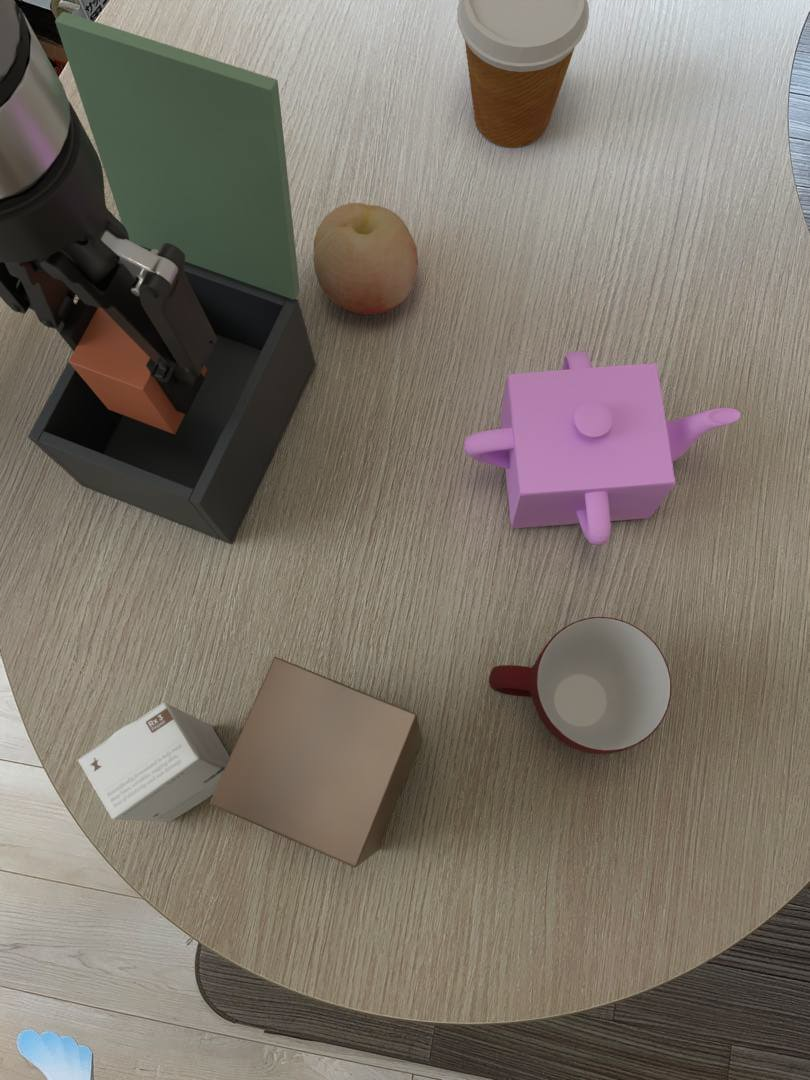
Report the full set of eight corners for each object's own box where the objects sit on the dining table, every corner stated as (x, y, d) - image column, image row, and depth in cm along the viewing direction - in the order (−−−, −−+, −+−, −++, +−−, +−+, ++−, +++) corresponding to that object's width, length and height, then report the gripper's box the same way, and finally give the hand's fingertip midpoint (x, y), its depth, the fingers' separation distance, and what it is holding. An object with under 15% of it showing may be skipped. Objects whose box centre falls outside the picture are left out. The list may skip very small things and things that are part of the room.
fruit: (423, 245, 76) (422, 182, 68) (414, 336, 74) (411, 281, 66) (325, 239, 76) (312, 175, 68) (312, 328, 74) (298, 273, 66)
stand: (270, 804, 64) (208, 804, 47) (317, 694, 66) (274, 655, 49) (378, 850, 63) (356, 868, 46) (422, 738, 65) (417, 714, 48)
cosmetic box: (169, 824, 64) (109, 829, 53) (136, 769, 65) (70, 761, 54) (245, 771, 65) (203, 764, 53) (211, 717, 66) (162, 699, 54)
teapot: (690, 382, 72) (730, 316, 62) (719, 559, 68) (766, 518, 58) (454, 400, 72) (456, 338, 62) (470, 578, 68) (475, 540, 58)
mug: (485, 758, 65) (493, 750, 55) (485, 641, 67) (493, 614, 57) (640, 761, 64) (676, 754, 55) (635, 644, 67) (668, 616, 57)
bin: (232, 544, 70) (199, 504, 60) (81, 485, 71) (26, 436, 62) (316, 364, 73) (298, 299, 64) (171, 312, 75) (132, 241, 65)
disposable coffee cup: (439, 86, 80) (440, -35, 68) (546, 56, 80) (564, -70, 69) (475, 178, 77) (482, 68, 66) (585, 146, 78) (611, 31, 66)
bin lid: (271, 90, 48) (278, 79, 49) (54, 20, 50) (62, 10, 50) (294, 300, 63) (300, 291, 63) (127, 241, 65) (133, 232, 65)
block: (108, 409, 63) (67, 361, 56) (141, 345, 64) (105, 291, 57) (175, 435, 62) (142, 389, 55) (207, 369, 63) (179, 318, 56)
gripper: (-246, 144, 39) (3, 383, 62) (138, 281, 37) (252, 478, 59) (-153, 7, 41) (56, 288, 64) (220, 129, 39) (300, 376, 61)
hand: (151, 379), depth 61 cm, fingers closed on block, 5 cm apart
